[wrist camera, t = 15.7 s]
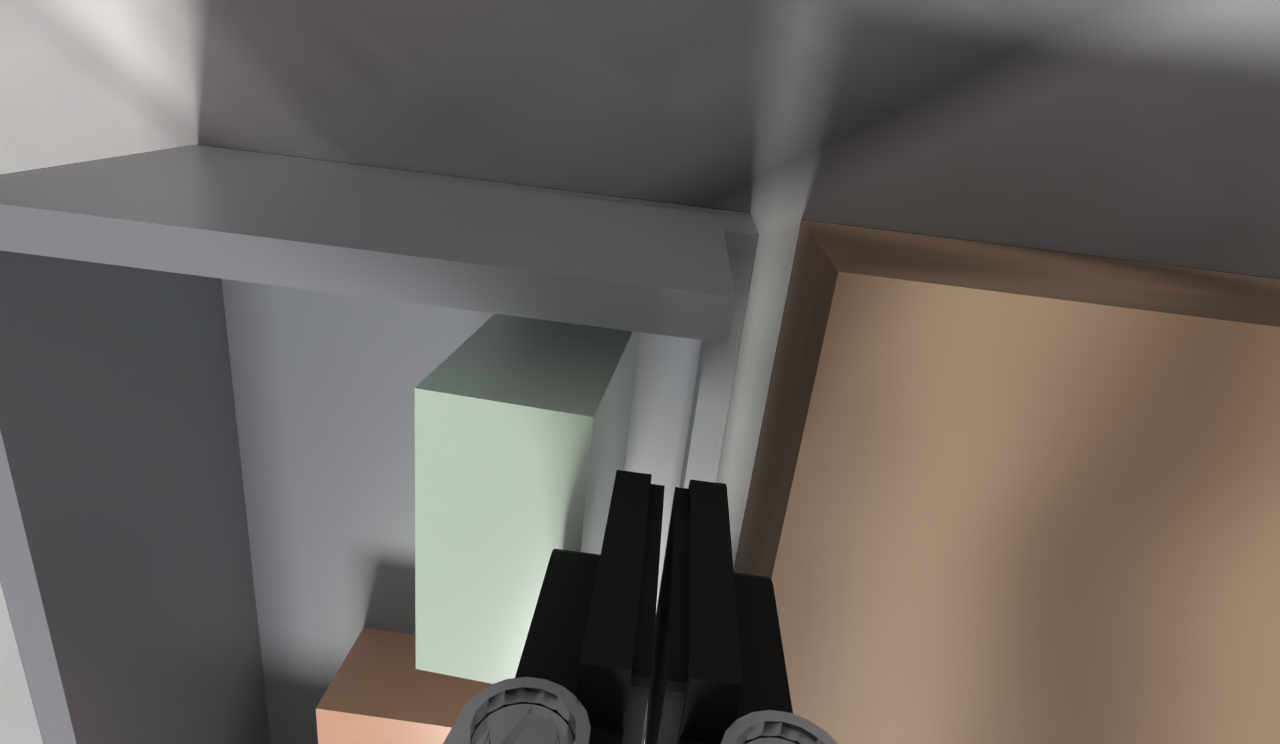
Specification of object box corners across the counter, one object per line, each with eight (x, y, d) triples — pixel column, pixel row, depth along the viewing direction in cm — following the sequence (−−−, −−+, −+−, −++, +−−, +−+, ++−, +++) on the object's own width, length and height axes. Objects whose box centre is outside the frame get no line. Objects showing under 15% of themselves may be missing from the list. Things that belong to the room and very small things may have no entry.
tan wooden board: (1428, 297, 14) (1684, 377, 11) (1101, 905, 21) (1187, 1083, 17) (802, 219, 15) (838, 271, 11) (680, 846, 21) (677, 1009, 18)
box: (750, 213, 15) (785, 303, 9) (645, 841, 21) (628, 1111, 16) (196, 144, 15) (-105, 190, 9) (268, 787, 22) (121, 1036, 16)
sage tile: (593, 417, 10) (414, 388, 10) (566, 697, 12) (415, 668, 12) (643, 309, 15) (518, 291, 15) (617, 525, 17) (507, 505, 17)
